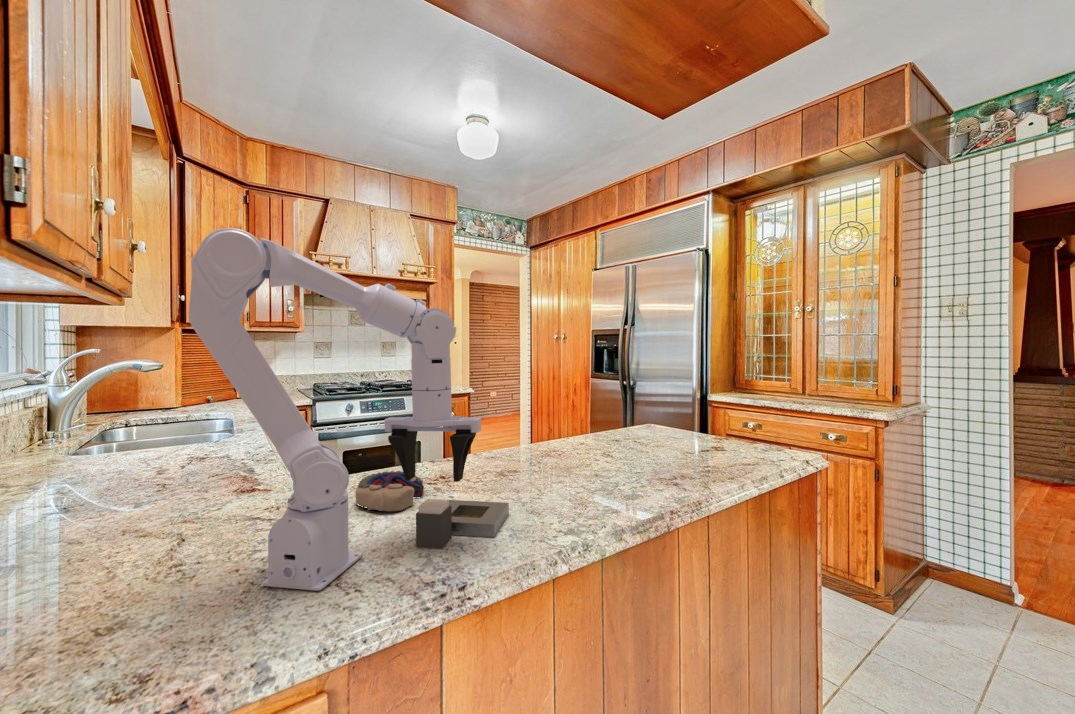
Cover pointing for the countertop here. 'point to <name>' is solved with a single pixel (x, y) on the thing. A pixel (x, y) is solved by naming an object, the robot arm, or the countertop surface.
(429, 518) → the plug
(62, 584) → the countertop surface
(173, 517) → the countertop surface
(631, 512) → the countertop surface
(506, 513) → the socket plate
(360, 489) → the anatomical model
